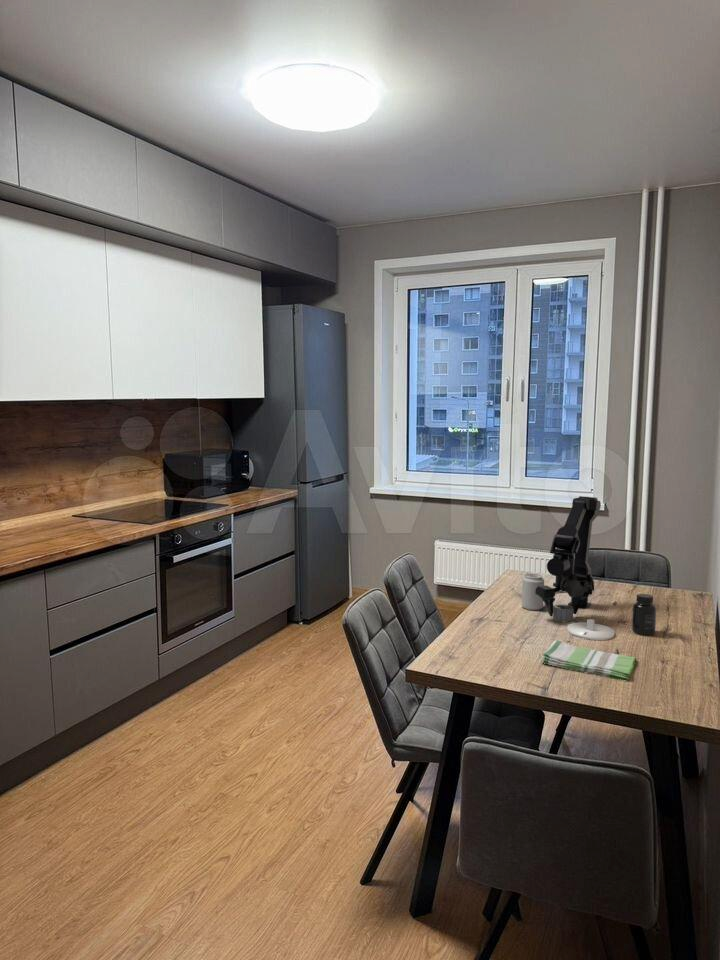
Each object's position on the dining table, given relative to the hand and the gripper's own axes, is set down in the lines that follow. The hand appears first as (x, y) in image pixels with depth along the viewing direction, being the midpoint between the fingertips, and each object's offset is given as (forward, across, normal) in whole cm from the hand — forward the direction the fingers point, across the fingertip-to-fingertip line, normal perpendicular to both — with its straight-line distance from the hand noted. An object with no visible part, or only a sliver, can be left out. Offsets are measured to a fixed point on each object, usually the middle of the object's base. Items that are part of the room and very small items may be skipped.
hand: (562, 615), depth 220 cm
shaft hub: (+1, 0, -14) cm, 14 cm away
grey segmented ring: (+1, 0, 0) cm, 1 cm away
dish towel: (+2, -16, -35) cm, 39 cm away
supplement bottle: (+2, +17, -19) cm, 25 cm away
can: (+2, -3, +14) cm, 14 cm away
